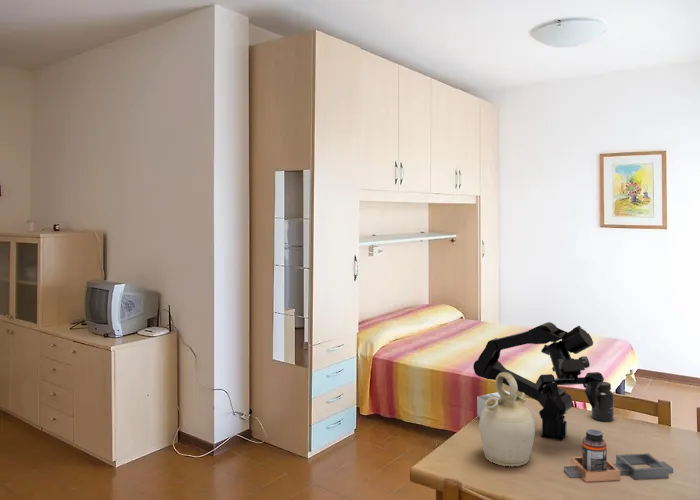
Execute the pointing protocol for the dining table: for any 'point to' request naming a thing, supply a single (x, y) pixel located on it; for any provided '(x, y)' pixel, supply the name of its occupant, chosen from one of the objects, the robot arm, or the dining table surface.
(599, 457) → the supplement bottle
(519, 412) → the jug
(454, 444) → the dining table surface
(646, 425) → the dining table surface
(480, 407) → the supplement box
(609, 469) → the socket rail
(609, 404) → the supplement bottle
